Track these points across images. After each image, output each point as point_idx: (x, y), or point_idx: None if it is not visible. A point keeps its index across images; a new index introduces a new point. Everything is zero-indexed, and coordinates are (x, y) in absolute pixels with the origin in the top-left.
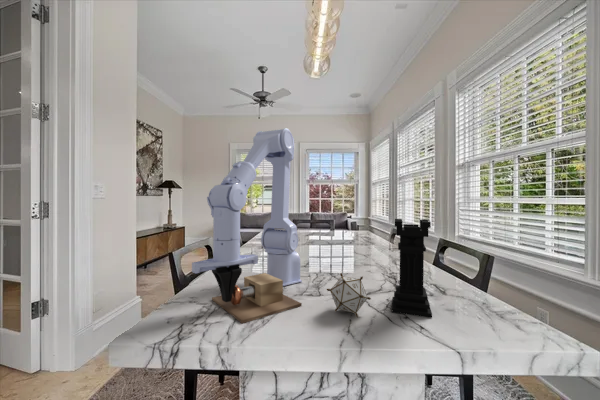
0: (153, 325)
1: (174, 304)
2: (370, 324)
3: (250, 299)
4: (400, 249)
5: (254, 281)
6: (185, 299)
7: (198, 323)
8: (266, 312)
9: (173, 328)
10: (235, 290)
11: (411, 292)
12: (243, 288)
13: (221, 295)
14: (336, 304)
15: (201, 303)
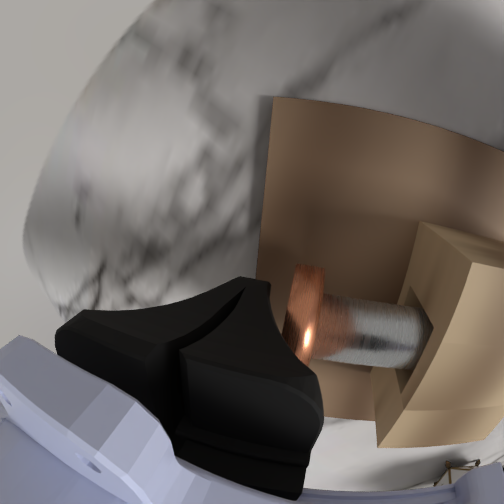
0: (53, 212)
1: (127, 59)
2: None
3: (400, 296)
4: None
5: (418, 396)
6: (181, 21)
7: (138, 298)
8: (339, 414)
9: (84, 271)
10: None
11: None
12: (348, 358)
13: (229, 281)
14: (443, 480)
15: (212, 109)
